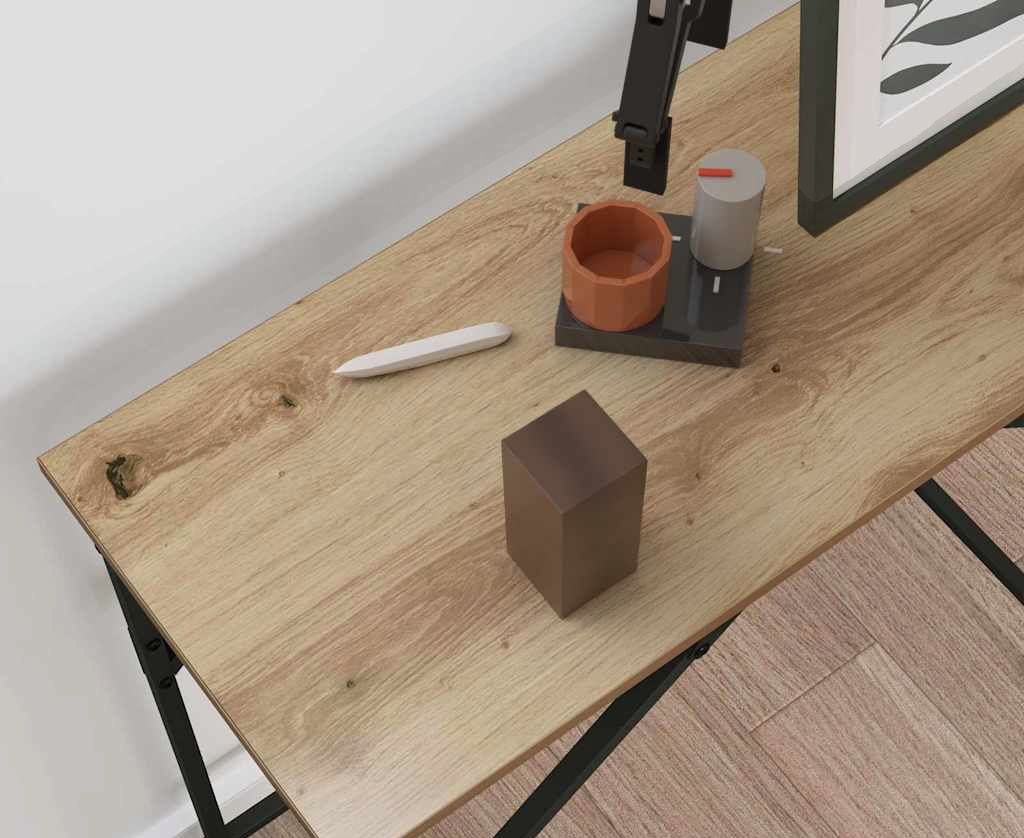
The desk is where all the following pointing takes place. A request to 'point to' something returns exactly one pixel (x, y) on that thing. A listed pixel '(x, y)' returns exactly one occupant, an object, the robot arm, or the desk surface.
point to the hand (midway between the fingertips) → (676, 112)
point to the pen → (426, 350)
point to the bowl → (616, 265)
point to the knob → (727, 208)
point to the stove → (678, 311)
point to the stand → (573, 502)
